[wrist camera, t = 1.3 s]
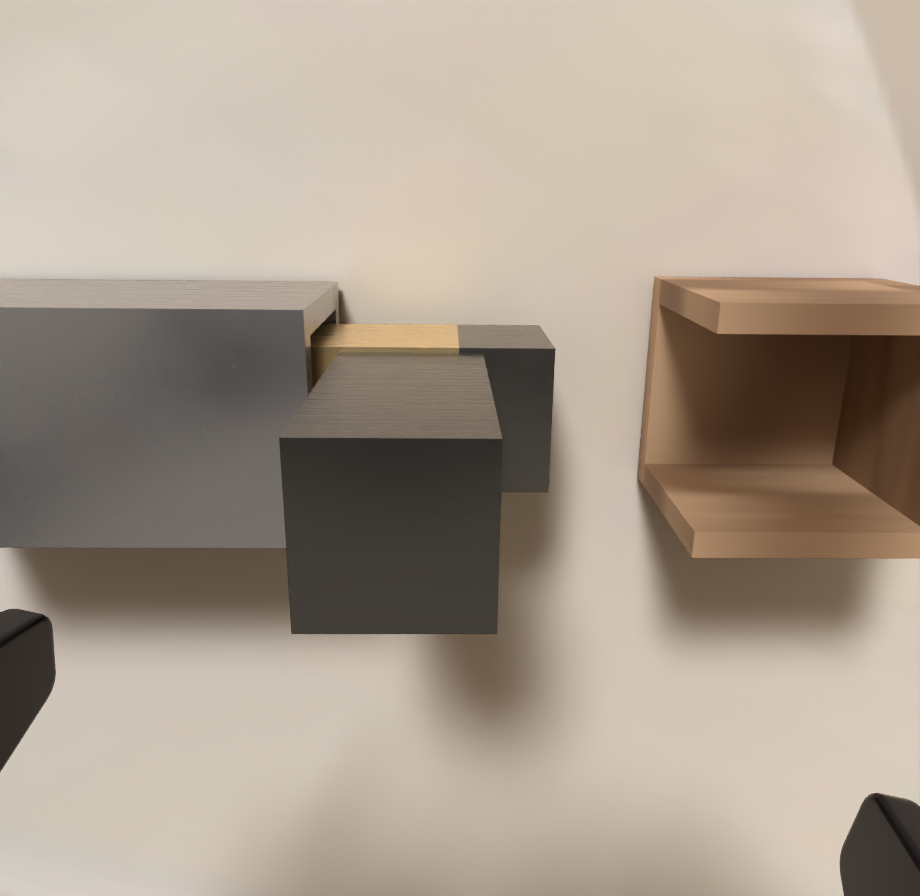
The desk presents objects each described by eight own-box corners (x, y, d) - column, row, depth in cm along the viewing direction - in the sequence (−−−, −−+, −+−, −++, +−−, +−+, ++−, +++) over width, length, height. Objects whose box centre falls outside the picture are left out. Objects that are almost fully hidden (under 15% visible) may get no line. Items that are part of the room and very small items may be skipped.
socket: (637, 477, 21) (691, 557, 17) (654, 276, 20) (720, 302, 15) (847, 478, 22) (960, 558, 17) (881, 278, 20) (1018, 305, 15)
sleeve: (-27, 467, 21) (-167, 547, 16) (-64, 278, 19) (-229, 305, 15) (345, 468, 21) (315, 548, 16) (338, 282, 20) (302, 309, 15)
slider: (-57, 446, 20) (-440, 638, 11) (-83, 320, 19) (-524, 425, 10) (533, 449, 20) (598, 639, 12) (538, 325, 19) (613, 432, 11)
